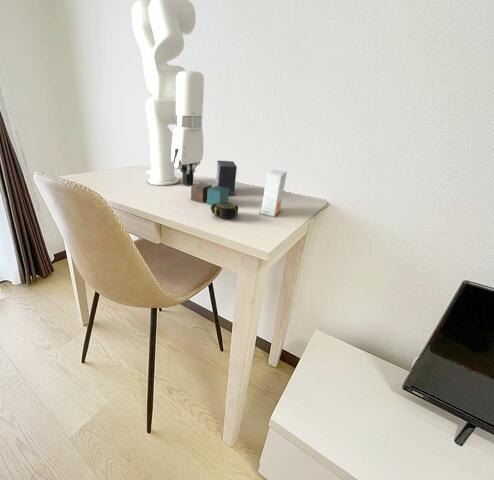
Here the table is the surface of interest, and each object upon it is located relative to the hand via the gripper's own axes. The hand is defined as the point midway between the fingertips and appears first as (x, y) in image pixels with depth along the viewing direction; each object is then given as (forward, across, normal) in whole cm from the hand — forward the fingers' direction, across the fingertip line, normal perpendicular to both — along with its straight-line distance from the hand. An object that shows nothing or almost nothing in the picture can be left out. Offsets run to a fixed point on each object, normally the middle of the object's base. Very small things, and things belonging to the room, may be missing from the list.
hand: (187, 185), depth 83 cm
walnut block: (+6, -6, +2) cm, 8 cm away
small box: (+6, -19, +2) cm, 20 cm away
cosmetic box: (+5, -10, +25) cm, 27 cm away
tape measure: (+5, +2, +16) cm, 17 cm away
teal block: (+6, -6, +8) cm, 11 cm away
